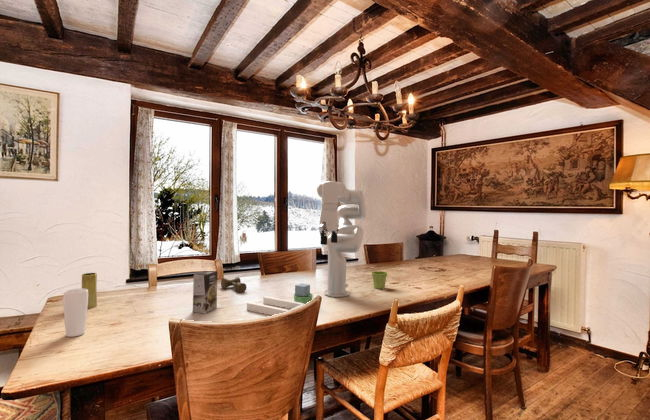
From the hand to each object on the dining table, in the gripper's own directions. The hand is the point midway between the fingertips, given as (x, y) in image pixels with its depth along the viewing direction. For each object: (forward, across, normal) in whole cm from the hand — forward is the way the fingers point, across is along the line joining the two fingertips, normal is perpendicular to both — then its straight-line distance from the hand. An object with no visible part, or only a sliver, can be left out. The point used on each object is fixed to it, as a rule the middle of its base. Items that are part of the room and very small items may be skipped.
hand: (329, 243), depth 155 cm
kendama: (+29, +6, -56) cm, 63 cm away
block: (+24, +8, -9) cm, 27 cm away
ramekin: (+28, +8, -9) cm, 31 cm away
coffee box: (+28, +39, -39) cm, 62 cm away
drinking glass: (+28, +81, -53) cm, 101 cm away
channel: (+28, +22, -13) cm, 38 cm away
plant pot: (+29, -42, +10) cm, 52 cm away
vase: (+28, +64, -84) cm, 109 cm away
